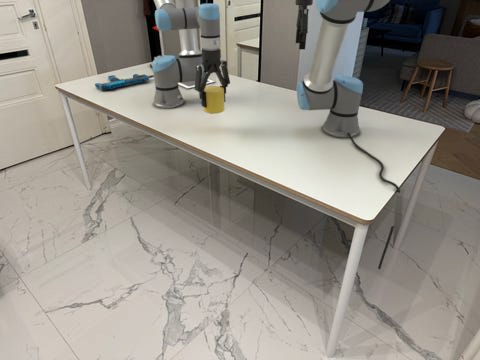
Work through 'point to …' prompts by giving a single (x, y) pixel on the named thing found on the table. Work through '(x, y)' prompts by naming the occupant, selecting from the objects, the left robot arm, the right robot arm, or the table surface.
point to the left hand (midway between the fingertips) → (213, 103)
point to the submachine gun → (122, 81)
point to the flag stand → (161, 42)
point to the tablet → (192, 84)
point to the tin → (214, 99)
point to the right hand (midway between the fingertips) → (300, 46)
